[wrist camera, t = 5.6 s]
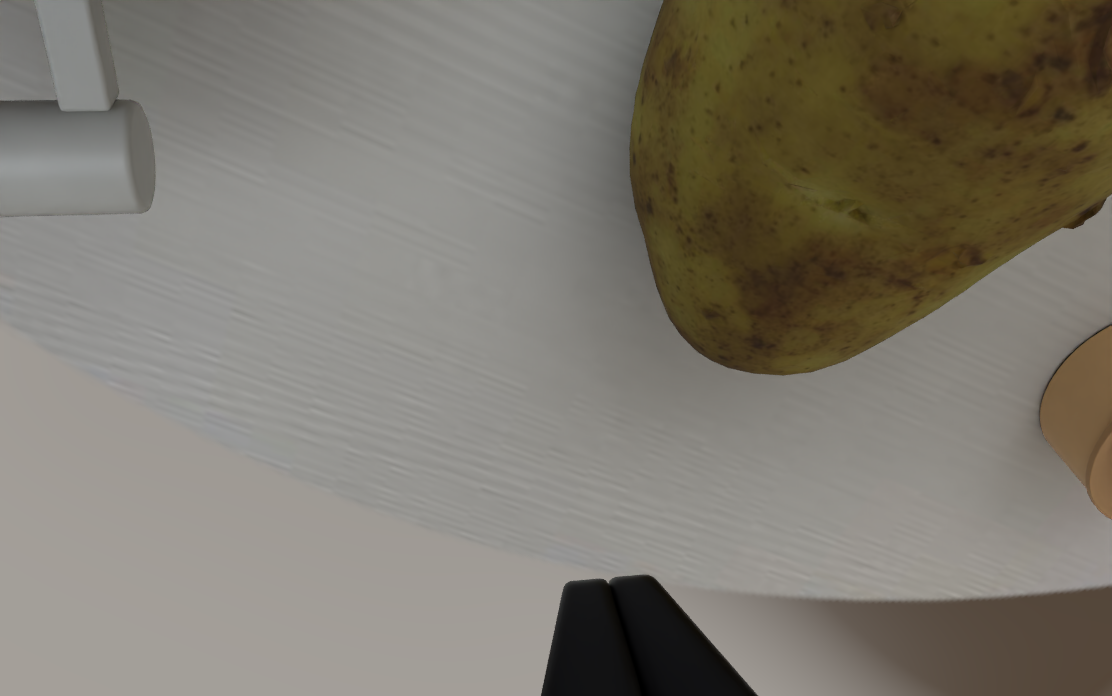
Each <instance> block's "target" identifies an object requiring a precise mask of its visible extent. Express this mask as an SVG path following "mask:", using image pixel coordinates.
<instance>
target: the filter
mask: <svg viewBox="0 0 1112 696" xmlns="http://www.w3.org/2000/svg"><path fill="white" fill-rule="evenodd" d="M1040 424H1041V428H1042V432H1043V434H1044V436H1045V439H1046V440H1047V441H1048V443H1049V444H1050V445H1051V447H1052V448H1053V449H1054V450H1055V451H1056V453H1057V454H1058V455H1059V456H1060V457H1061V459H1062V460H1063V461H1064V462H1065V463H1066V465H1067V466H1068V467H1069V468H1070V469H1071V471H1072V472H1073V473H1074V474H1075V475H1076V477H1077V478H1078V479H1079V480H1080V481H1081V483H1082V484H1083V485H1084V486H1085V488H1086V489H1087V493H1088V495H1089V497H1090V499H1091V501H1092V502H1093V504H1094V505H1095V506H1096V507H1097V509H1098V510H1099V511H1100V512H1101V513H1102V514H1104V515H1105V516H1106V517H1108V518H1110V519H1112V325H1111V326H1109V327H1107V328H1106V329H1104V330H1102V331H1100V332H1099V333H1097V334H1096V335H1094V336H1093V337H1091V338H1090V339H1088V340H1087V341H1086V342H1085V343H1083V344H1082V345H1081V346H1080V347H1078V348H1077V349H1076V350H1075V351H1074V352H1073V353H1072V354H1071V355H1070V356H1069V357H1068V358H1067V359H1066V360H1065V362H1064V363H1063V364H1062V365H1061V366H1060V368H1059V369H1058V370H1057V372H1056V373H1055V374H1054V376H1053V378H1052V379H1051V381H1050V383H1049V385H1048V387H1047V389H1046V391H1045V394H1044V396H1043V400H1042V403H1041V409H1040Z"/></svg>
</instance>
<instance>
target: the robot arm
mask: <svg viewBox="0 0 1112 696" xmlns="http://www.w3.org/2000/svg"><path fill="white" fill-rule="evenodd" d="M541 696H758V695H757V694H756V693H755V692H754V691H753V690H752V689H751V687H750V686H749V685H748V684H747V683H746V682H745V681H744V679H743V678H742V677H741V676H740V675H739V674H738V672H737V671H736V670H735V669H734V668H733V667H732V666H731V664H730V663H729V662H728V661H727V660H726V659H725V658H724V656H723V655H722V654H721V653H720V652H719V651H718V650H717V649H716V647H715V646H714V645H713V644H712V643H711V642H710V640H708V638H707V637H706V636H705V635H704V634H703V632H702V631H701V630H700V629H699V628H698V627H697V626H696V624H695V623H694V622H693V621H692V620H691V619H690V618H689V616H688V615H687V614H686V613H685V612H684V611H683V610H682V608H681V607H680V606H679V605H678V604H677V603H676V602H675V600H674V599H673V598H672V597H671V596H670V595H669V594H668V592H667V591H666V590H665V589H664V588H663V587H662V586H661V584H660V583H659V582H658V581H657V580H656V579H655V578H654V577H652V576H650V575H633V576H622V577H615V578H612V579H611V580H610V581H609V583H607V581H606V580H604V579H590V580H579V581H570V582H568V583H566V584H565V586H564V589H563V592H562V597H561V602H560V607H559V612H558V616H557V621H556V626H555V631H554V636H553V640H552V645H551V650H550V655H549V659H548V664H547V669H546V675H545V679H544V684H543V688H542V693H541Z"/></svg>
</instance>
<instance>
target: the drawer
mask: <svg viewBox="0 0 1112 696" xmlns="http://www.w3.org/2000/svg"><path fill="white" fill-rule="evenodd" d="M34 2H35V7H36V11H37V15H38V19H39V24H40V28H41V32H42V37H43V41H44V45H45V49H46V54H47V58H48V62H49V67H50V71H51V75H52V79H53V84H54V88H55V92H56V97H57V100H31V101H0V217H13V216H55V215H97V214H140V213H143V212H146V211H148V210H149V208H150V206H151V204H152V200H153V197H154V191H155V155H154V146H153V140H152V134H151V130H150V126H149V122H148V119H147V117H146V114H145V112H144V110H143V108H142V106H141V105H140V104H139V103H138V102H135V101H133V100H116V98H117V97H118V94H119V88H118V82H117V77H116V72H115V67H114V62H113V57H112V52H111V47H110V42H109V37H108V32H107V27H106V21H105V16H104V11H103V6H102V1H101V0H34Z"/></svg>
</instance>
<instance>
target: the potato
mask: <svg viewBox="0 0 1112 696" xmlns="http://www.w3.org/2000/svg"><path fill="white" fill-rule="evenodd" d="M630 178H631V185H632V191H633V197H634V203H635V209H636V212H637V215H638V219H639V222H640V225H641V228H642V231H643V235H644V238H645V243H646V247H647V251H648V256H649V260H650V264H651V268H652V272H653V275H654V279H655V283H656V287H657V289H658V292H659V294H660V297H661V299H662V302H663V304H664V307H665V309H666V312H667V314H668V317H669V319H670V320H671V322H672V323H673V325H674V326H675V327H676V329H677V330H678V332H679V333H680V335H681V336H682V337H683V338H684V339H685V340H686V341H687V342H688V343H689V344H690V345H691V346H692V347H693V348H694V349H695V350H696V351H698V352H699V353H700V354H702V355H703V356H705V357H707V358H708V359H710V360H712V361H714V362H716V363H718V364H720V365H723V366H725V367H727V368H731V369H736V370H740V371H745V372H749V373H755V374H770V375H791V374H800V373H809V372H814V371H817V370H820V369H823V368H826V367H829V366H832V365H835V364H838V363H841V362H844V361H846V360H848V359H850V358H852V357H854V356H856V355H858V354H860V353H862V352H864V351H866V350H867V349H869V348H871V347H873V346H875V345H877V344H878V343H880V342H882V341H884V340H886V339H887V338H889V337H891V336H893V335H894V334H896V333H898V332H899V331H901V330H903V329H905V328H906V327H908V326H910V325H912V324H913V323H915V322H917V321H918V320H920V319H922V318H924V317H925V316H927V315H928V314H930V313H932V312H933V311H935V310H936V309H938V308H940V307H941V306H943V305H944V304H945V303H947V302H948V301H950V300H951V299H953V298H954V297H956V296H958V295H959V294H961V293H963V292H964V291H965V290H967V289H968V288H969V287H971V286H972V285H973V284H975V283H976V282H978V281H979V280H981V279H982V278H983V277H985V276H986V275H988V274H989V273H991V272H992V271H994V270H995V269H997V268H998V267H999V266H1001V265H1003V264H1004V263H1006V262H1008V261H1009V260H1011V259H1012V258H1013V257H1015V256H1016V255H1018V254H1019V253H1021V252H1022V251H1024V250H1026V249H1027V248H1029V247H1031V246H1032V245H1034V244H1035V243H1037V242H1039V241H1040V240H1042V239H1043V238H1045V237H1047V236H1049V235H1050V234H1052V233H1054V232H1055V231H1057V230H1059V229H1061V228H1070V229H1074V228H1076V227H1078V226H1081V225H1083V224H1084V222H1085V221H1086V220H1087V219H1089V218H1091V217H1092V216H1094V215H1096V214H1097V213H1098V212H1099V211H1100V210H1101V208H1102V206H1103V204H1104V202H1105V201H1106V199H1107V197H1108V196H1110V195H1111V194H1112V0H664V1H663V4H662V7H661V10H660V13H659V16H658V19H657V22H656V25H655V28H654V31H653V34H652V37H651V41H650V44H649V47H648V50H647V54H646V57H645V60H644V63H643V67H642V71H641V75H640V80H639V84H638V88H637V92H636V96H635V105H634V113H633V119H632V124H631V136H630Z"/></svg>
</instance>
